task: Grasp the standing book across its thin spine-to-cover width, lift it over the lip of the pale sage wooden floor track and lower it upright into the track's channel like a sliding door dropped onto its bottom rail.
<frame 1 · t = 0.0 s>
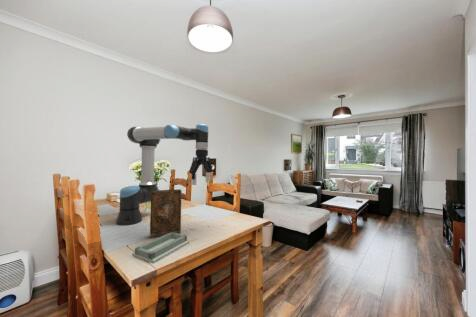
hand: (201, 183, 122), 28 cm above the table, fingers open, 13 cm apart
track: (162, 248, 95), on the table
book: (165, 234, 112), on the table
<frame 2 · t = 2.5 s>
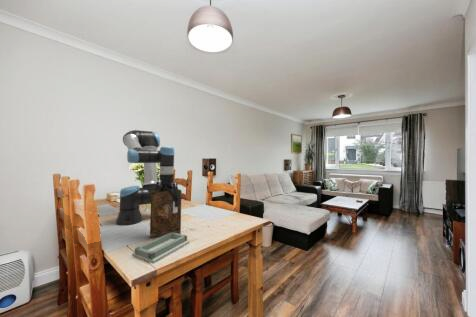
hand: (166, 211, 111), 13 cm above the table, fingers open, 13 cm apart
nothing on the table moved.
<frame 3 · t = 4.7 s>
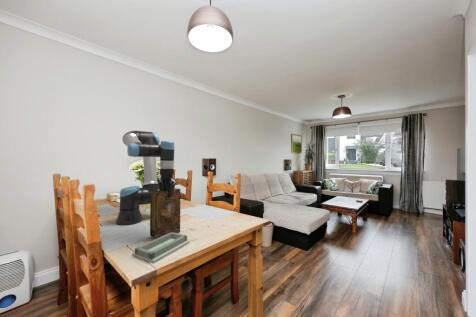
hand: (165, 209, 112), 14 cm above the table, fingers closed
book: (166, 234, 112), on the table
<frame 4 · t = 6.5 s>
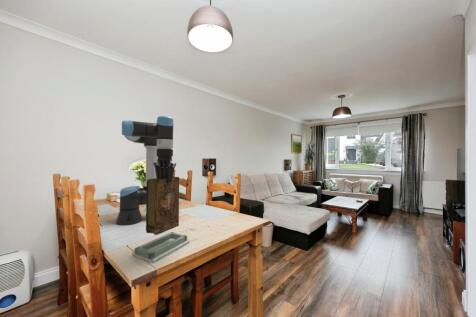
hand: (164, 196, 95), 25 cm above the table, fingers closed
book: (164, 229, 96), point 9 cm above the table, touching hand
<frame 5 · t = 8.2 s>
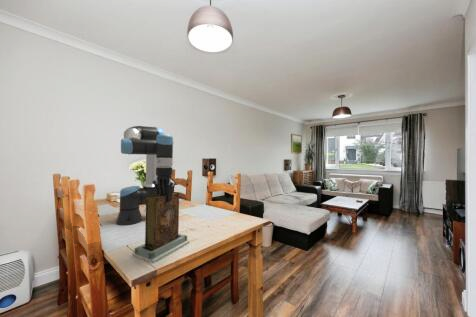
hand: (163, 215, 94), 16 cm above the table, fingers closed
book: (163, 246, 95), point 1 cm above the table, touching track
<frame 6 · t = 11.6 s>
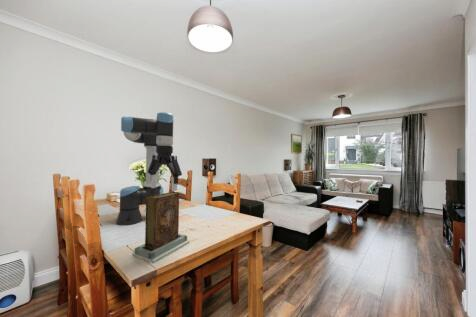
hand: (163, 189, 95), 29 cm above the table, fingers open, 13 cm apart
nothing on the table moved.
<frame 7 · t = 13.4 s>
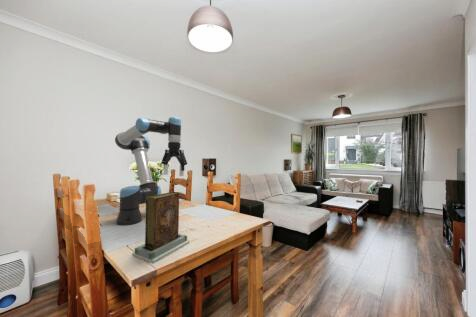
hand: (173, 175, 125), 32 cm above the table, fingers open, 13 cm apart
nothing on the table moved.
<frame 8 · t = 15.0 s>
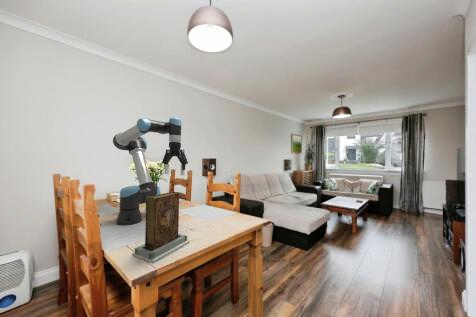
hand: (174, 174, 128), 33 cm above the table, fingers open, 13 cm apart
nothing on the table moved.
at the end: book inside the target area on the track (0.3 cm from its centre), point 0.8 cm above the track's base; book tilted 0°; the gripper is holding nothing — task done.
